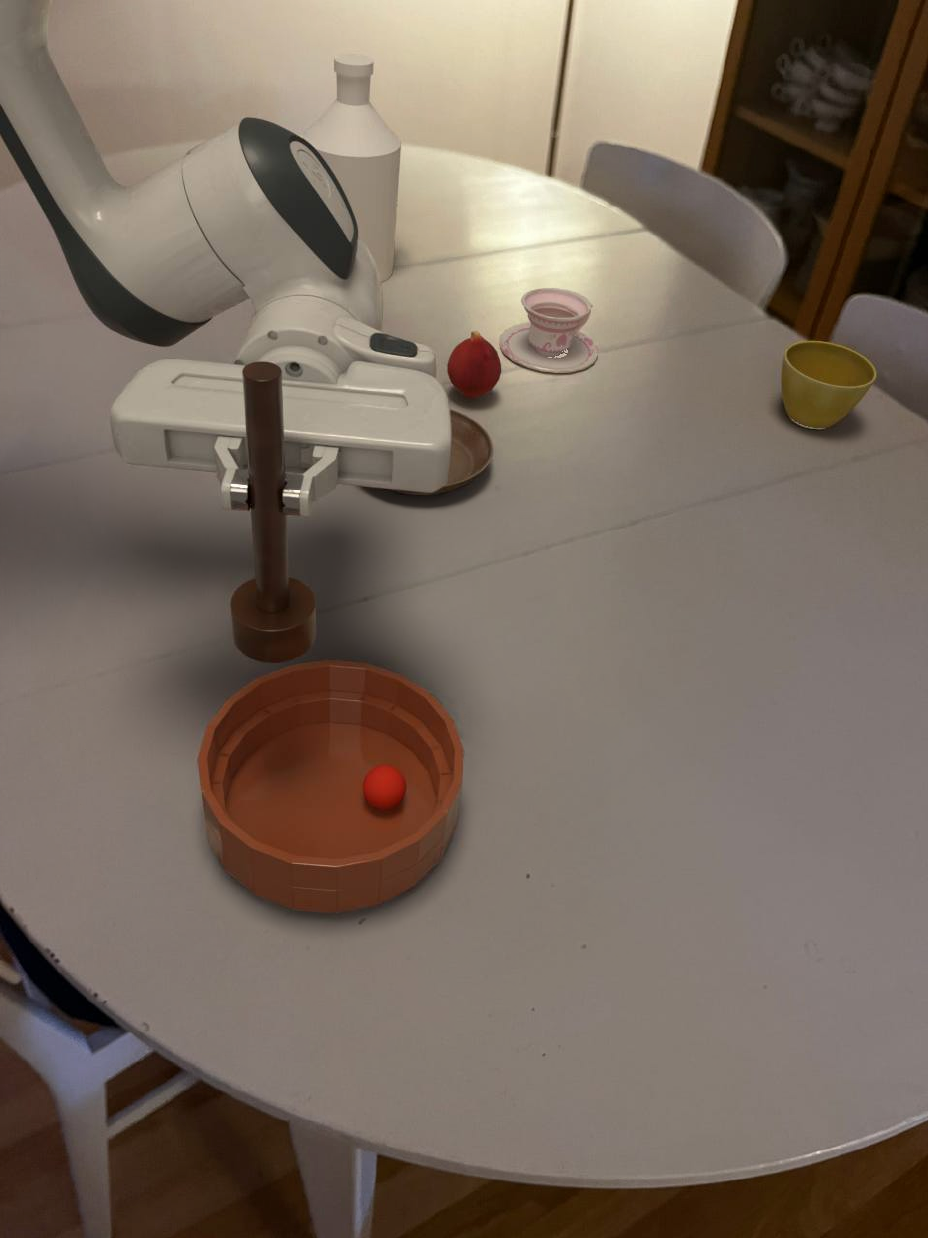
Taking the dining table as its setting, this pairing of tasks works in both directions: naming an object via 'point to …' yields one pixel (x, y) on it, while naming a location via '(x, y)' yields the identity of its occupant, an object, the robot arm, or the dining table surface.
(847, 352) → the flower pot
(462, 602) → the dining table surface
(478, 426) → the saucer
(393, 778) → the cherry tomato
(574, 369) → the teacup
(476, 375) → the onion
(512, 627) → the dining table surface
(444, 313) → the dining table surface
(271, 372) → the wooden peg stand
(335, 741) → the bowl
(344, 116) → the bottle
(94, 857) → the dining table surface
